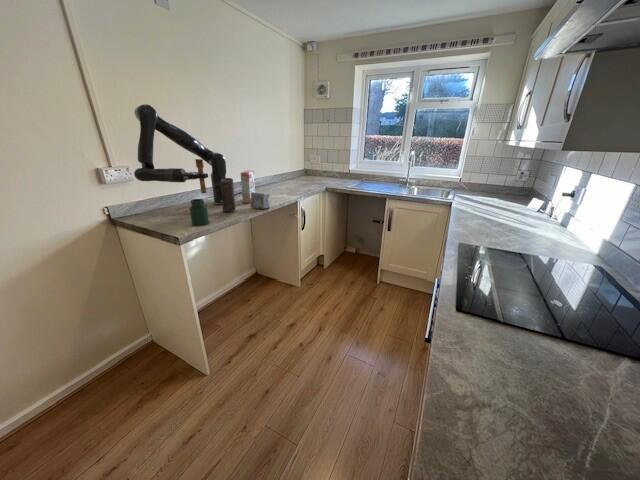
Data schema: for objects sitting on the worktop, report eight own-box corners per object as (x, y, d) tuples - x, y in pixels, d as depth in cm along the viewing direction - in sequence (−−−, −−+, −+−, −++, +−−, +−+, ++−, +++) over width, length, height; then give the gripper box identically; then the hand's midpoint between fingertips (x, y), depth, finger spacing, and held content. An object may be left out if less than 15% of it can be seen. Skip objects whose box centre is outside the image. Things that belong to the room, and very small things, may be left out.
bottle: (201, 220, 143) (197, 197, 138) (212, 222, 140) (209, 199, 135) (188, 224, 136) (184, 200, 131) (200, 226, 133) (196, 202, 128)
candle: (238, 210, 162) (235, 178, 155) (230, 213, 156) (227, 180, 148) (228, 209, 164) (224, 177, 157) (220, 212, 158) (216, 179, 150)
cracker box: (251, 203, 180) (248, 172, 172) (242, 203, 180) (239, 172, 172) (256, 199, 193) (254, 170, 185) (248, 198, 193) (245, 170, 185)
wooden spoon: (201, 192, 149) (196, 159, 142) (207, 192, 149) (203, 159, 142) (199, 193, 146) (194, 159, 139) (206, 193, 147) (201, 159, 140)
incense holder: (270, 207, 171) (269, 191, 168) (263, 210, 164) (262, 194, 160) (257, 205, 174) (256, 190, 171) (250, 208, 167) (249, 192, 163)
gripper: (167, 170, 136) (201, 170, 136) (179, 166, 148) (210, 167, 149) (170, 184, 138) (203, 185, 139) (182, 180, 151) (212, 180, 152)
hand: (206, 176), depth 144 cm, fingers closed on wooden spoon, 2 cm apart
